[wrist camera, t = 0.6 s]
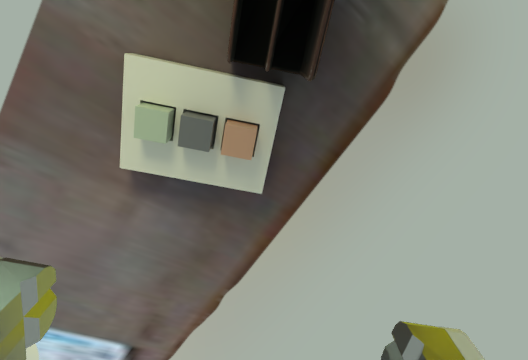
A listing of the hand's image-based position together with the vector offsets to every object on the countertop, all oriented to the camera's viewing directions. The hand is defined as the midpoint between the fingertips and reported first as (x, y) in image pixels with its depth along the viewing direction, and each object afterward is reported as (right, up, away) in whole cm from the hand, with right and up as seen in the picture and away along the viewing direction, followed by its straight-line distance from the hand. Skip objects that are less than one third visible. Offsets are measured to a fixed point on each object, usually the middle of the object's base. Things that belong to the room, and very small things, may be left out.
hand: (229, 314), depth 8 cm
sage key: (-13, +11, +35) cm, 39 cm away
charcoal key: (-8, +10, +35) cm, 38 cm away
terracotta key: (-2, +9, +36) cm, 37 cm away
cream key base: (-8, +11, +38) cm, 41 cm away
